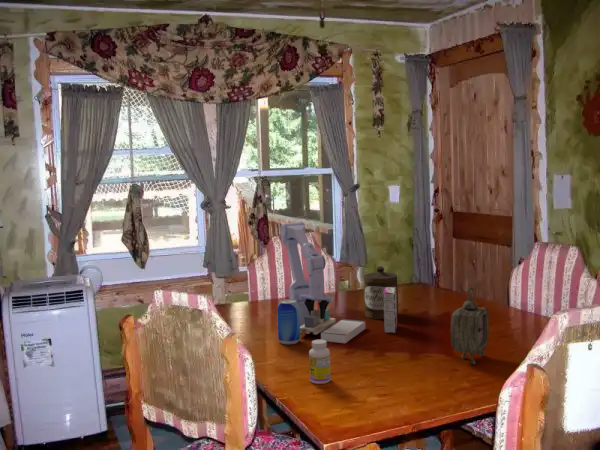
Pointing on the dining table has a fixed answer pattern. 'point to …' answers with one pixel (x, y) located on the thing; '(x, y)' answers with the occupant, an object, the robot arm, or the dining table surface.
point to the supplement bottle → (319, 362)
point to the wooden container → (378, 292)
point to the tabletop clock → (470, 328)
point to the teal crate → (326, 315)
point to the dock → (343, 331)
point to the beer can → (288, 321)
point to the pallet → (321, 324)
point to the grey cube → (311, 321)
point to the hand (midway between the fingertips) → (317, 318)
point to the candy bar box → (390, 310)
